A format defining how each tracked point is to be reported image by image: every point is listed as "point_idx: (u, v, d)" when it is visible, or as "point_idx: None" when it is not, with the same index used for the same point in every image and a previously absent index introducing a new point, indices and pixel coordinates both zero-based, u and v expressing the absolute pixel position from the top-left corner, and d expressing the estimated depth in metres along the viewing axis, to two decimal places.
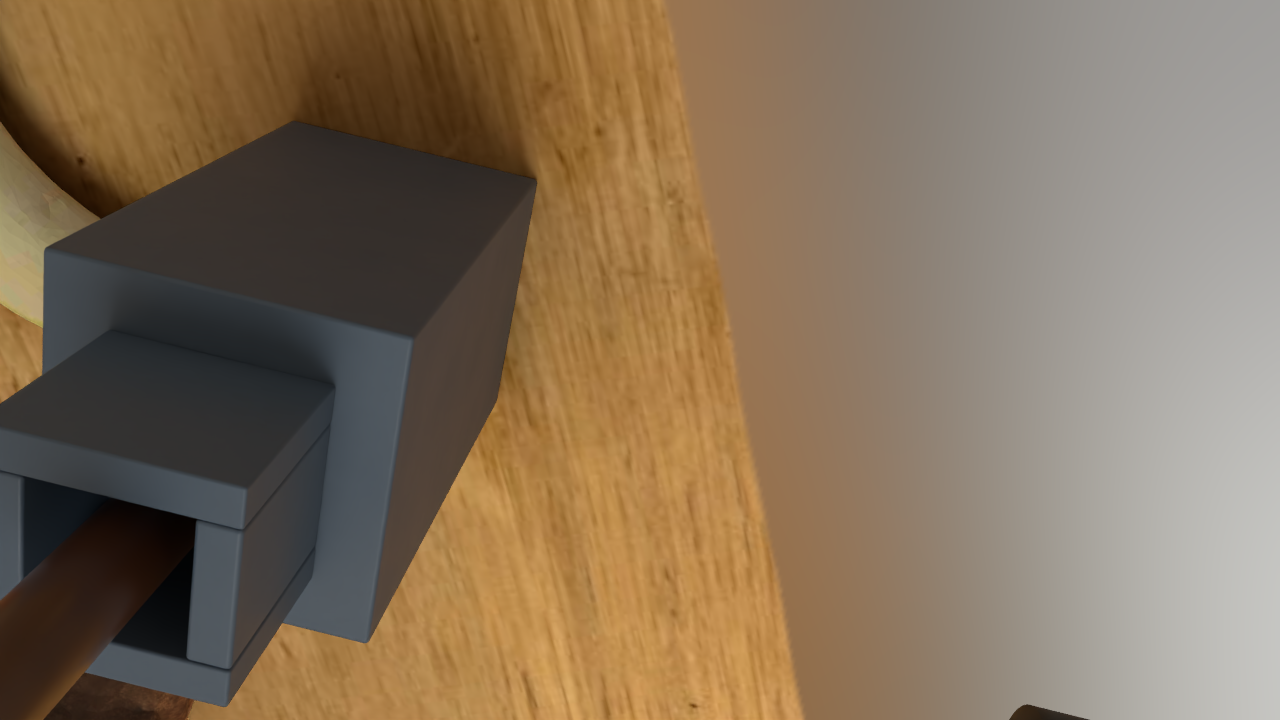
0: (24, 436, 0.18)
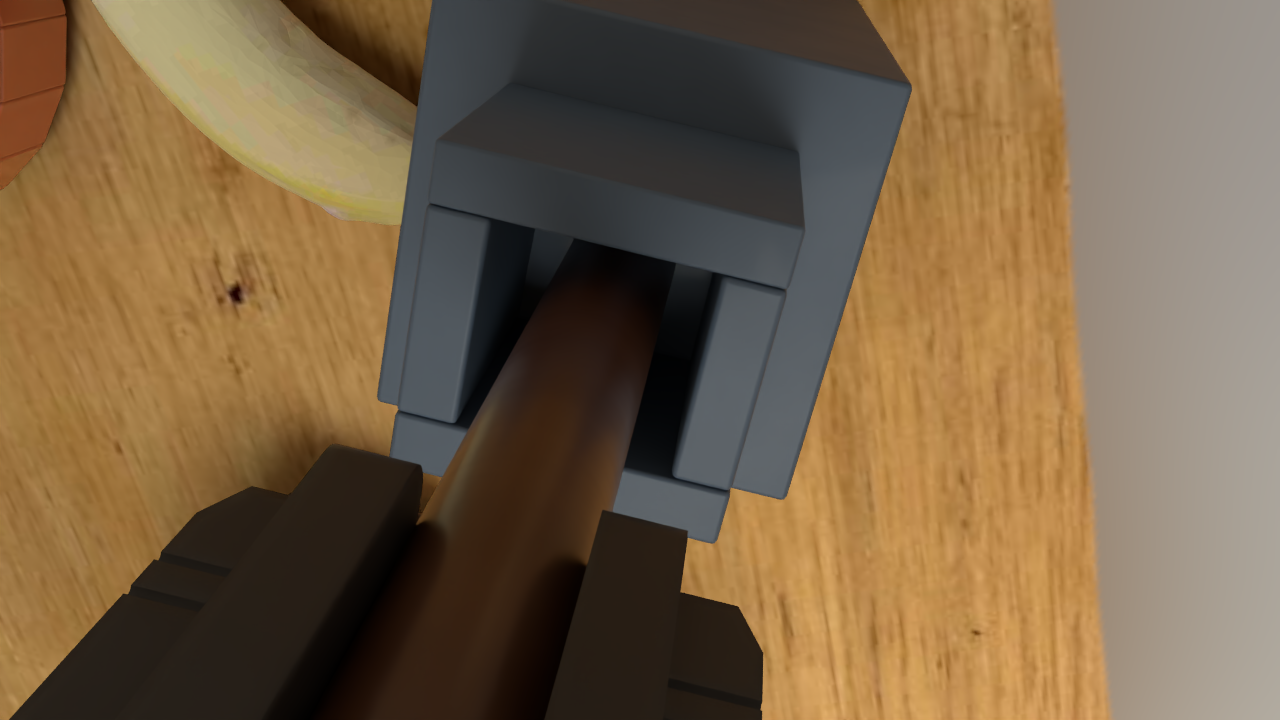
0: (502, 160, 0.14)
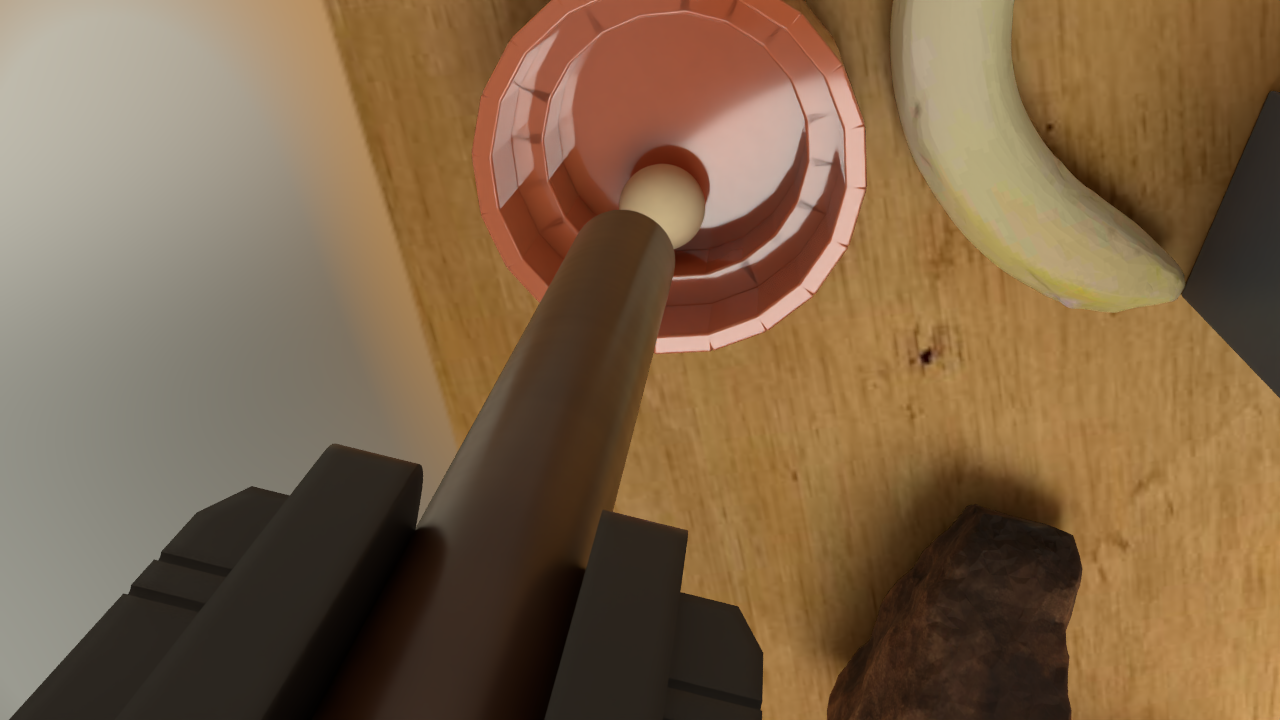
0: None
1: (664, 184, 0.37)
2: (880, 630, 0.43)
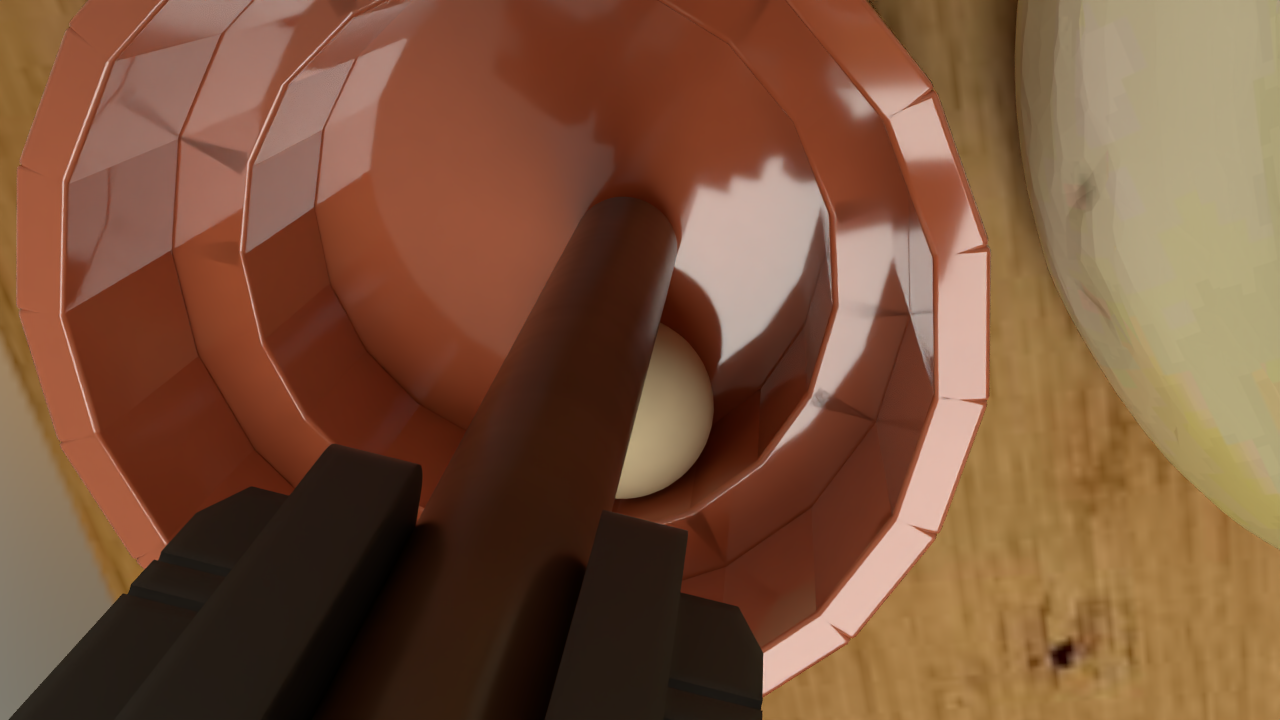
0: None
1: (667, 420, 0.17)
2: None
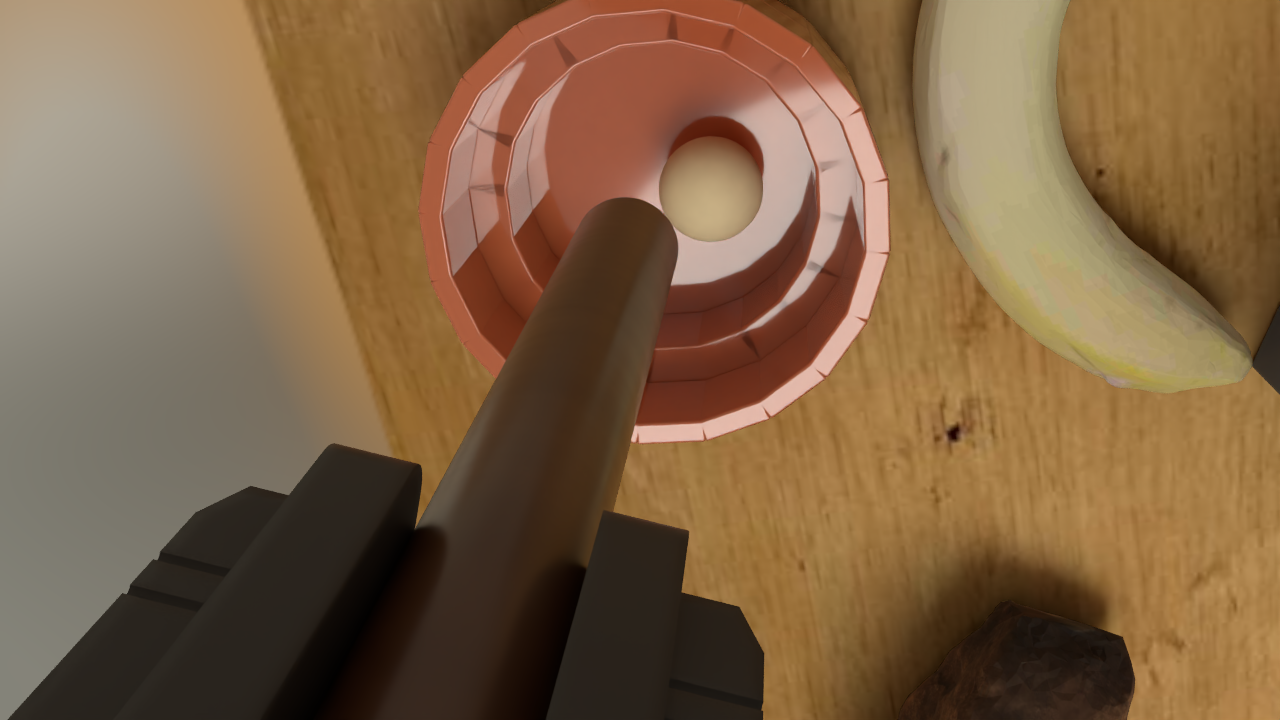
0: None
1: None
2: None
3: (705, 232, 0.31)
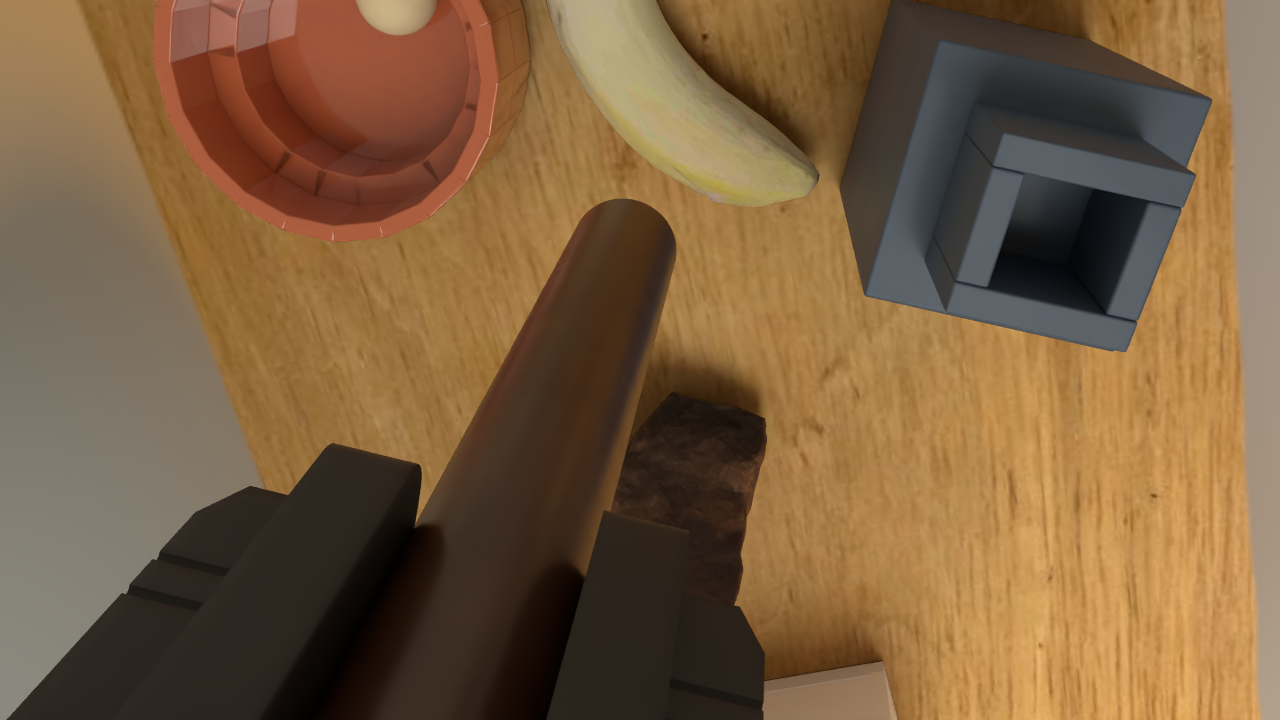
0: (1036, 142, 0.26)
1: None
2: None
3: None
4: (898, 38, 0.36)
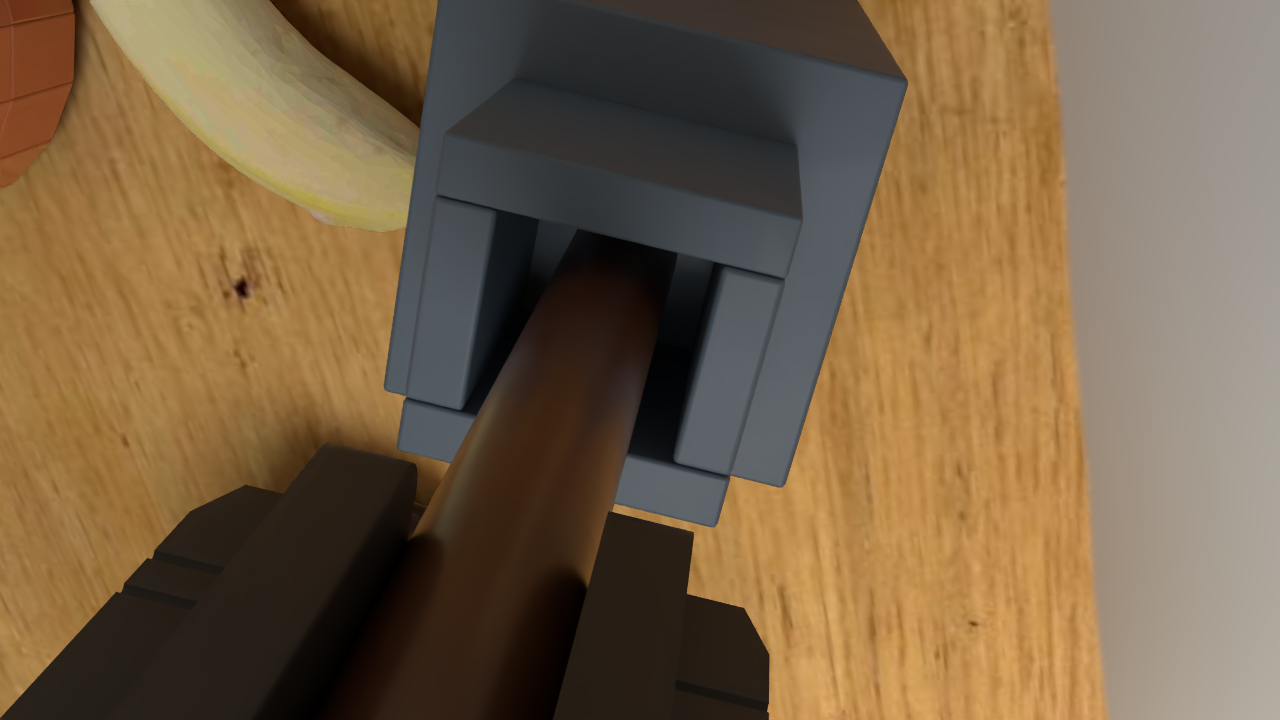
0: (507, 153, 0.14)
1: None
2: None
3: None
4: None
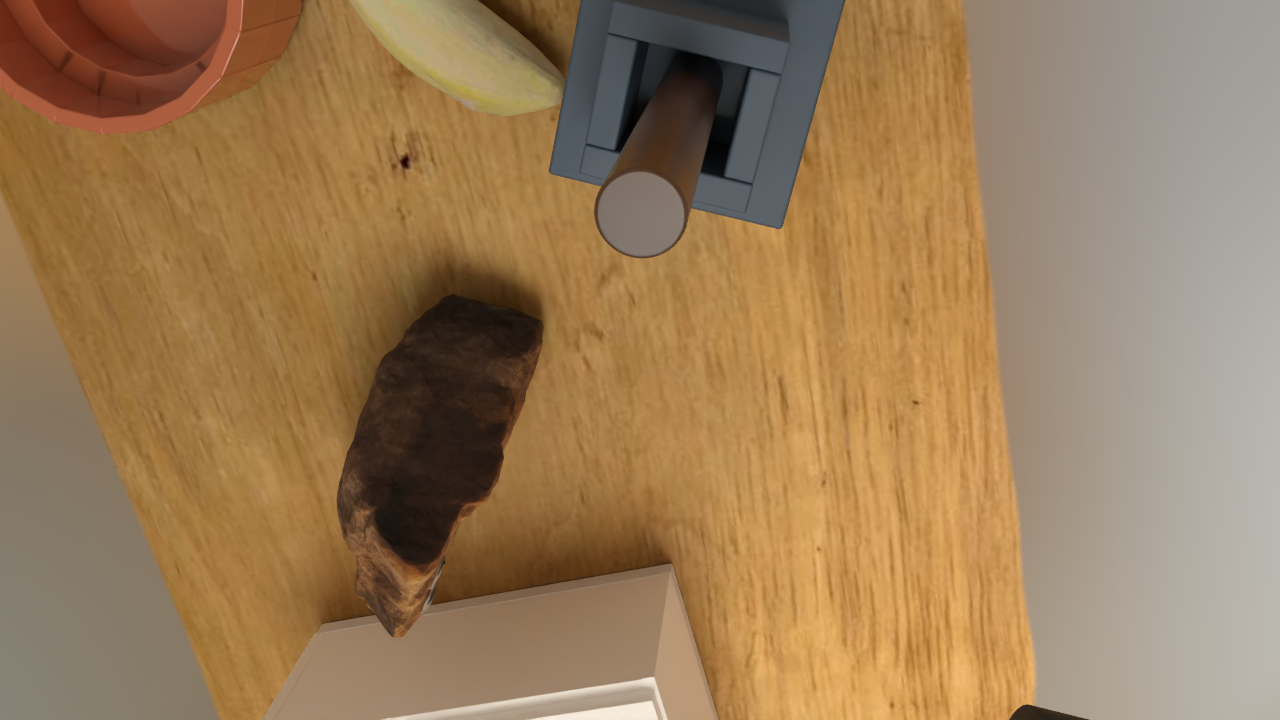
0: (644, 10, 0.28)
1: None
2: None
3: None
4: None
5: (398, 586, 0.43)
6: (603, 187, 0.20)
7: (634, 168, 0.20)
